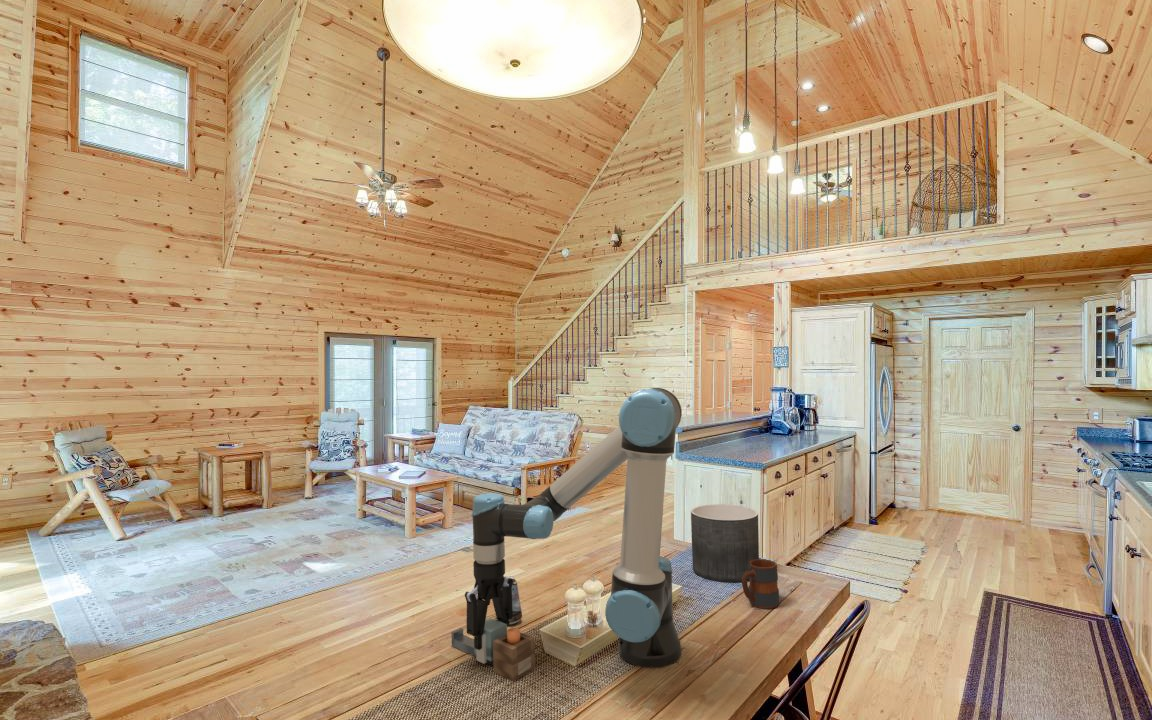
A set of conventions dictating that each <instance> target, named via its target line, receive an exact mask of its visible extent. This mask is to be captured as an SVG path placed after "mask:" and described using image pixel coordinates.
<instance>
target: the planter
mask: <svg viewBox="0 0 1152 720" xmlns="http://www.w3.org/2000/svg"><path fill="white" fill-rule="evenodd" d="M690 526H691V557H692V559H691V560H692V571H693V573H694V574H696V575H697V576H699V577H701V578H704V579H708V580H710V581H716V582H722V583H740V582H741V583H742V576H743V574H744V573H745V572H748V571H749V563H750V561H752V560H757V559H760V543H759V542H760V541H759V540H760V538H759V536H760V535H759V532H760V531H759V512H758V511H757V510H755V509H753V508H751V507H747V506H742V505H735V504H727V503H726V504H724V503H723V504H722V503H721V504H719V503H717V504H716V503H715V504H713V503H712V504H704V505H702V504H701V505H698V506H694V507H693V508H691V510H690ZM748 581H750V578H749V577H748V578H747V582H748Z"/></svg>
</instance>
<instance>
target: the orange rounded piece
mask: <svg viewBox="0 0 1152 720" xmlns="http://www.w3.org/2000/svg"><path fill="white" fill-rule="evenodd" d="M520 633H521V630H520V628H518V627H513V628H512V627H511V628H509V629H507V644H510V645H512V646H513V645H514V644H516V643H518V642H520Z"/></svg>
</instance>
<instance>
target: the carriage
mask: <svg viewBox="0 0 1152 720" xmlns="http://www.w3.org/2000/svg"><path fill="white" fill-rule="evenodd" d="M507 630H508V625H507V624H505V623H503V622H500V621H497V619H494V618H493V617H489V618H486V620H485V626H484V632H483V634H485V635H486V659H487V660H489V661H493V641H495V640H497V639H499V638H501V637H503V636H505V635H507ZM474 654H476V649H475V647H474Z"/></svg>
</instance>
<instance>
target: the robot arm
mask: <svg viewBox="0 0 1152 720" xmlns="http://www.w3.org/2000/svg"><path fill="white" fill-rule="evenodd" d="M682 412H683V411H682V406H681V403H680V400H679V399H678V397H677V396H676V395H675V394H673V392H671V391H669V390H668V389H665V388H662V387H652V388H646V389H645V388H644V389H640V390H637V391H635V392H633V393H632V394H630V395H629V396H628V397H627V398H626V399H625V400H624V401H623V403H622V405H621V407H620V409H619V413H618V424H619V425H618V426H617V427H616V428H615V429H613V430H612V431H611V432H610V433H609V434H607V436H606V437H604V438H603V439H602V440H601V441H599V443H597V445H595V446H594V447H593V448H592V449H590V451H588V452H587V453H586V454H584V455H583V456H582V457H581V458H580V459H578V461H577V462H575V463H574V464H573V465H572V466H571V467H569V468H568V469H567V470H566V471H565V472H564V473H563V474H562V475H560V476H559V477H558V478H557V479H556V480H555V481H553V483H551V484H550V485H549V486H548V487H547V488H546V489H544V490H543V491H542V492H541V493H540V494H538V495H537V496H536V497H534V498H532V499H530V500H529V501H528V502H526V503H523V504H514V503H513V504H512V503H505V499H504V495H503V494H501V493H497V492H496V493H495V492H490V493H489V492H487V493H482V494H481V493H480V494H478V495H476V496H474V498H473V499H472V513H471V517H472V535H473V539H472V541H473V543H472V546H473V547H472V550H473V551H472V553H473V554H472V555H473V557H472V558H473V562H472V563H473V578H474V579H475V583H474V586H473V588H472V589H471V590H470V591H465V593H464V597H465V601H466V634H468V635H469V636H470V635H471V636H472V637H473V639H474V647H475V649H476V657H475V658H476V661H477V662H479V663H481V664H483V665H485V664H487V662H486V635H485V634H483V632H484V626H485V620H486V619H487V613H488V607H489V605H490V604H491V601H492V604H493V609H494V613H495V616H496V620H497V621H500V622H503V623H505V624H507V626H509V625H510V624H509V623H510V621H508V620H509V619H512V617H513V609H512V584H513V579H512V578H508V577H507V576H504V575H505V574H506V560H505V559H504V558H505V557H506V554H505V553H506V551H505V548H506V547H505V537H509V538H510V537H511V538H512V537H513V538H521V539H522V538H523V539H530V540H539V539H540V540H544V539H547V538H549V537H550V535H551V533H552V531H553V528H554V522H555V521H557V520H558V519H559V518H561V516H562V515H563V514H564V513H565V512H567V511H568V510H569V509H570V508H571V507H572V506H573V505H574V504H576V503H577V502H578V501H579V500H581V499H582V498H583V497H585V496H586V495H587V493H589V492H590V491H592V490H593V489H594V488H595V487H596V486H598V484H600V483H601V482H602V481H603V480H604V479H606V478H607V477H608V476H609V475H610V474H611V473H613V472H614V471H615V470H616V469H617V468H619V467H620V466H621V465H622V464H624V463H625V462H626V461H627V464H626V475H625V488H624V504H623V517H622V518H623V519H622V531H621V543H620V544H621V546H620V547H621V548H620V562H619V563H618V564H616V565H615V566H614V567H613V569H612V577H611V589H610V596H609V597H608V599H607V601H606V605H605V610H604V614H605V615H604V616H605V619H606V623H607V625H608V627H609V628H610V630H612V632H613V633H614V634H615V636H617V637H618V638H619V639H618V646H617V647H618V655H619V656H620V658H621V659H622V660H623V661H625V662H626V663H628V664H631V665H633V666H636V667H643V668H653V669H654V668H655V669H656V668H663V667H667V666H670V665H673V664H675V663H676V662H678V661H679V660H680V658H681V656H682V643H681V641H680V639H679V635H678V631H677V629H676V626H675V623H674V618H673V617H674V616H673V615H674V614H673V613H674V611H673V610H674V609H673V568H672V562H671V560H670V559H669V558H667V557H665V556H662V555H661V545H662V544H661V542H662V532H663V531H662V528H663V518H664V517H663V514H664V513H663V512H664V499H665V489H666V488H665V487H666V471H667V461H668V459H669V458H670V457H672V455H674V454H675V445H676V434H677V433H676V430H677V428H678V427H679V425H680V423H681V421H682V420H681V419H682V417H683V416H682V415H683V413H682ZM501 588H502V590H501ZM507 612H508V613H507Z"/></svg>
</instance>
